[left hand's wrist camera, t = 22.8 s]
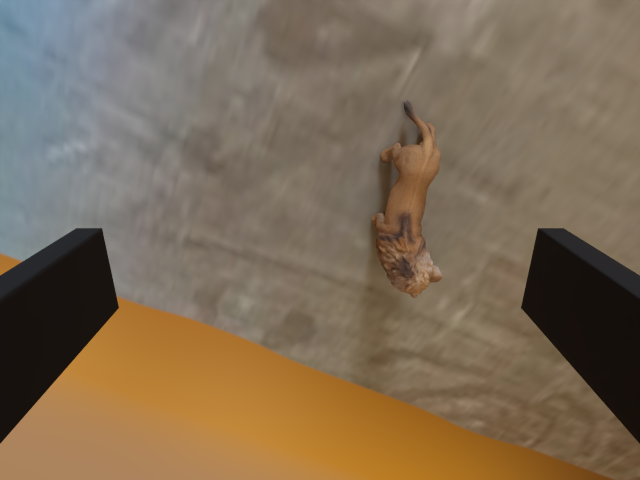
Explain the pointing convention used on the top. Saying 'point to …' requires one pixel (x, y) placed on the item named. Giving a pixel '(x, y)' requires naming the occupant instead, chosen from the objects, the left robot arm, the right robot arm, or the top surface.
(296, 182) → the top surface
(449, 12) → the top surface
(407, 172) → the lion figurine
